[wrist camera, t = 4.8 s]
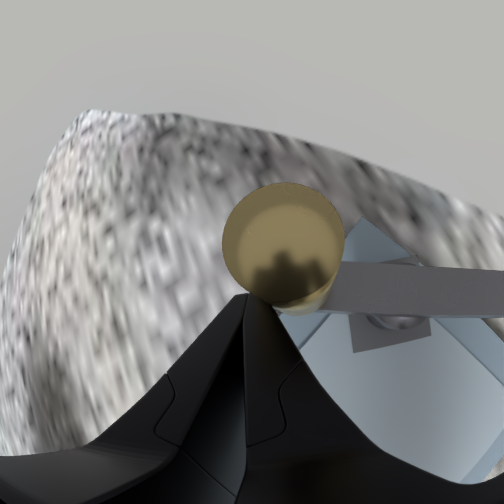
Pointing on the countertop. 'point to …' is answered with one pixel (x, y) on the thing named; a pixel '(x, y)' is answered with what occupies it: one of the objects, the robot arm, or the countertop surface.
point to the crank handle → (341, 267)
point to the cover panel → (411, 376)
